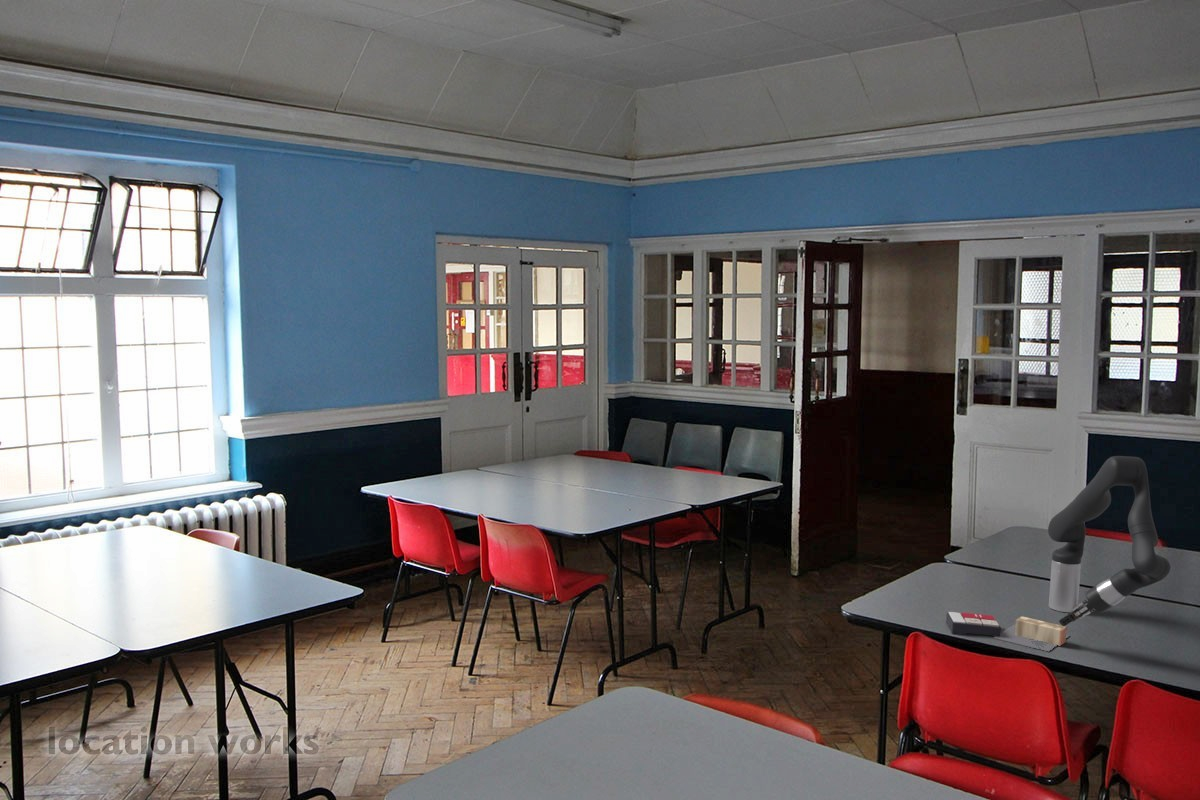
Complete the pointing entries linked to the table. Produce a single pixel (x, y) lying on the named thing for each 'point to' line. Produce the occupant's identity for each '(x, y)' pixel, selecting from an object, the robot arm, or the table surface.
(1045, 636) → the tall block
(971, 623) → the red white grey box
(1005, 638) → the mat
